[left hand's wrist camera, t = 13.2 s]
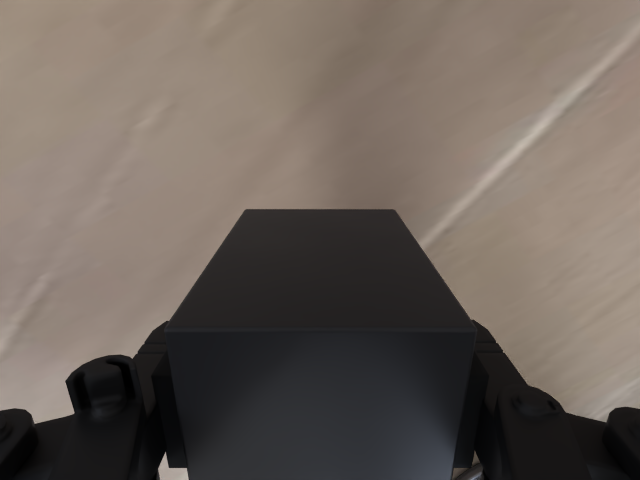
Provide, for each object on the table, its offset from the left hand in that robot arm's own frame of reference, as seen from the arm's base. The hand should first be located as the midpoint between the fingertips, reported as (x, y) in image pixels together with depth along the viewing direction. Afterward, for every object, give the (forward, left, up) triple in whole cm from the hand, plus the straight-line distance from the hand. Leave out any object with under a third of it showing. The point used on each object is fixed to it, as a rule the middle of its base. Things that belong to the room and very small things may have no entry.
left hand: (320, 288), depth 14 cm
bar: (+5, +8, -1) cm, 10 cm away
